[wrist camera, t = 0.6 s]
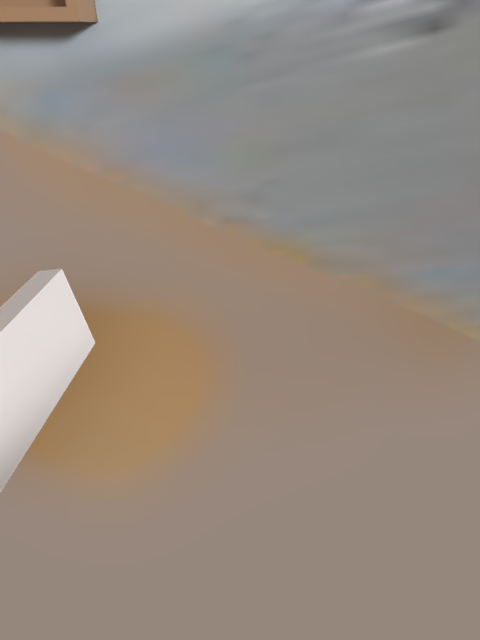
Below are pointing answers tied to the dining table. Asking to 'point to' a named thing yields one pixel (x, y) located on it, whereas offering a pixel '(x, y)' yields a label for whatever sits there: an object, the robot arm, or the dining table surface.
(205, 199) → the dining table surface
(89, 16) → the brown square tray
